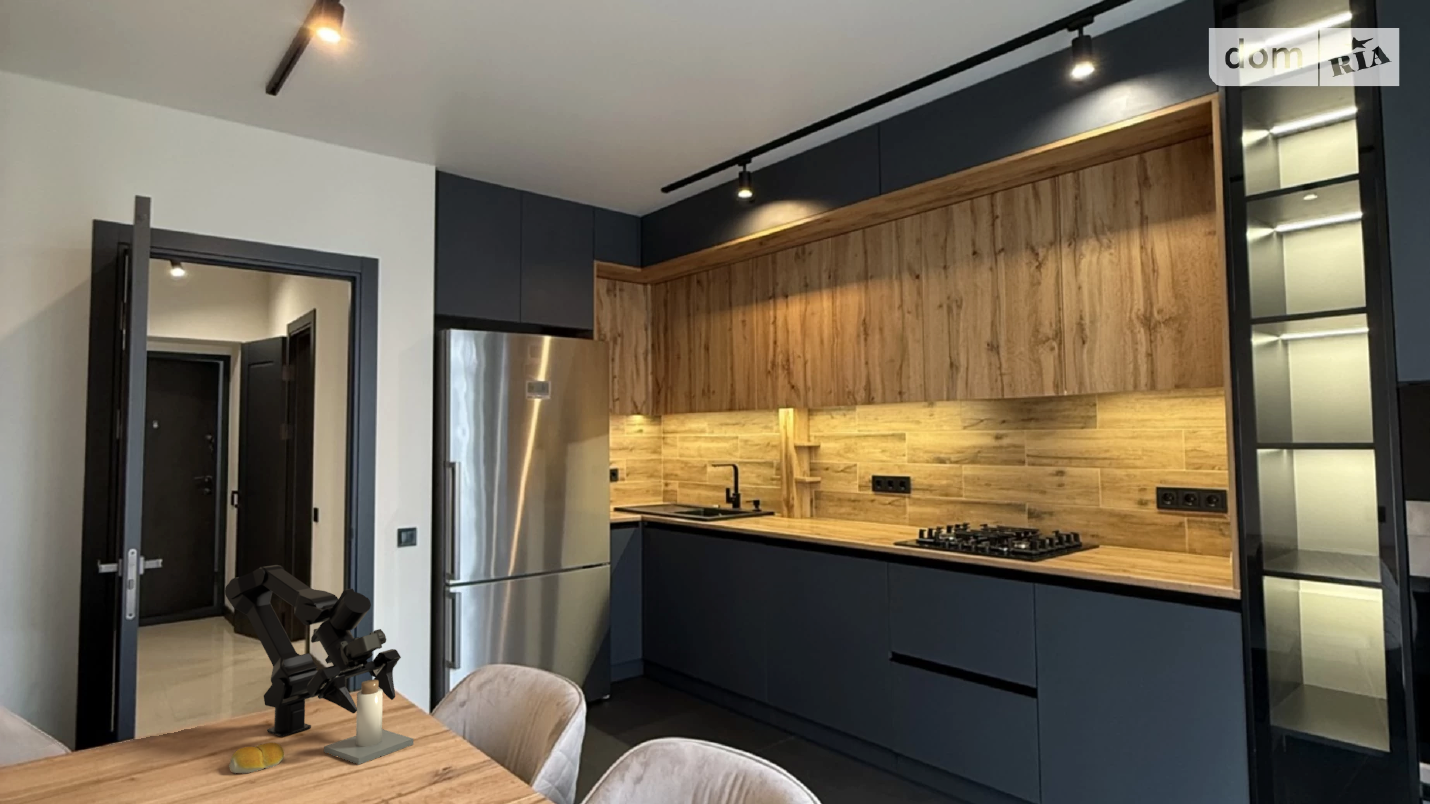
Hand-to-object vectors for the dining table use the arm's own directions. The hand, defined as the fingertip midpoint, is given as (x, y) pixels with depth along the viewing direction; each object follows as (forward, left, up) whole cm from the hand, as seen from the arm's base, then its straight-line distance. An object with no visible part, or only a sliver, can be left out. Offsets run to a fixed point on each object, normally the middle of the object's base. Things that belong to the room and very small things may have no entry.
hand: (375, 705), depth 152 cm
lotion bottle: (-2, 0, -8) cm, 8 cm away
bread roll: (-13, -17, -9) cm, 23 cm away
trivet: (-1, 0, -9) cm, 9 cm away
